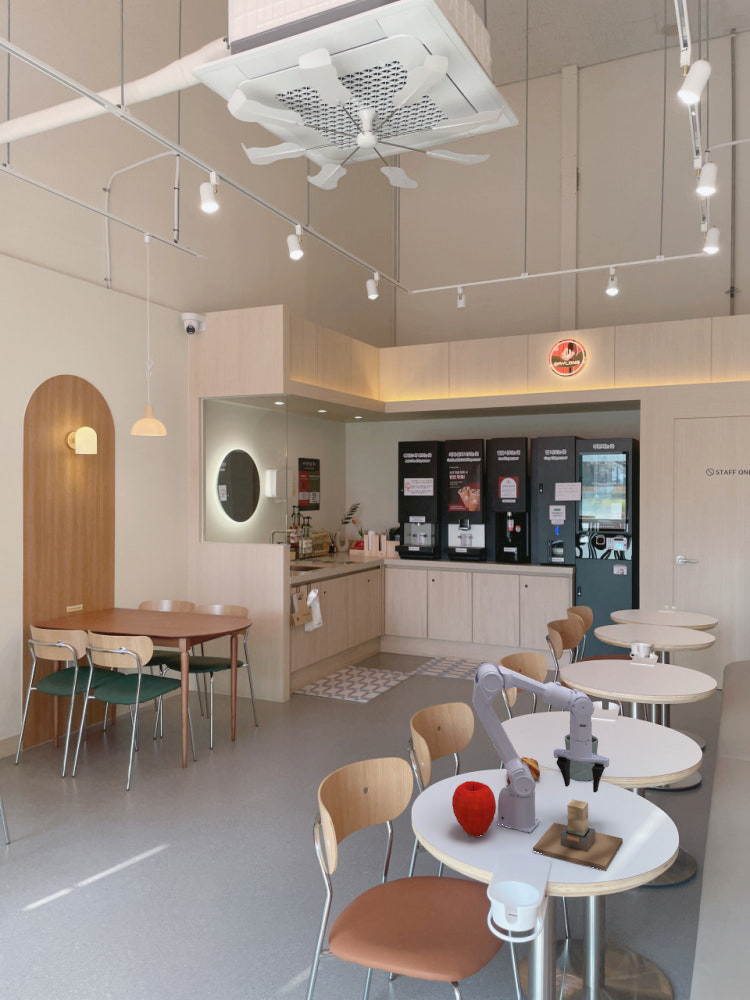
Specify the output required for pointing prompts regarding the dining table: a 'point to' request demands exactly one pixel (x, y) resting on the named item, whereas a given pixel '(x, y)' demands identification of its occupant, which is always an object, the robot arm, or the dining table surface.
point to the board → (595, 857)
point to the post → (577, 817)
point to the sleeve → (578, 839)
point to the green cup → (581, 763)
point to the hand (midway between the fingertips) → (581, 788)
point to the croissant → (532, 766)
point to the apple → (474, 807)
